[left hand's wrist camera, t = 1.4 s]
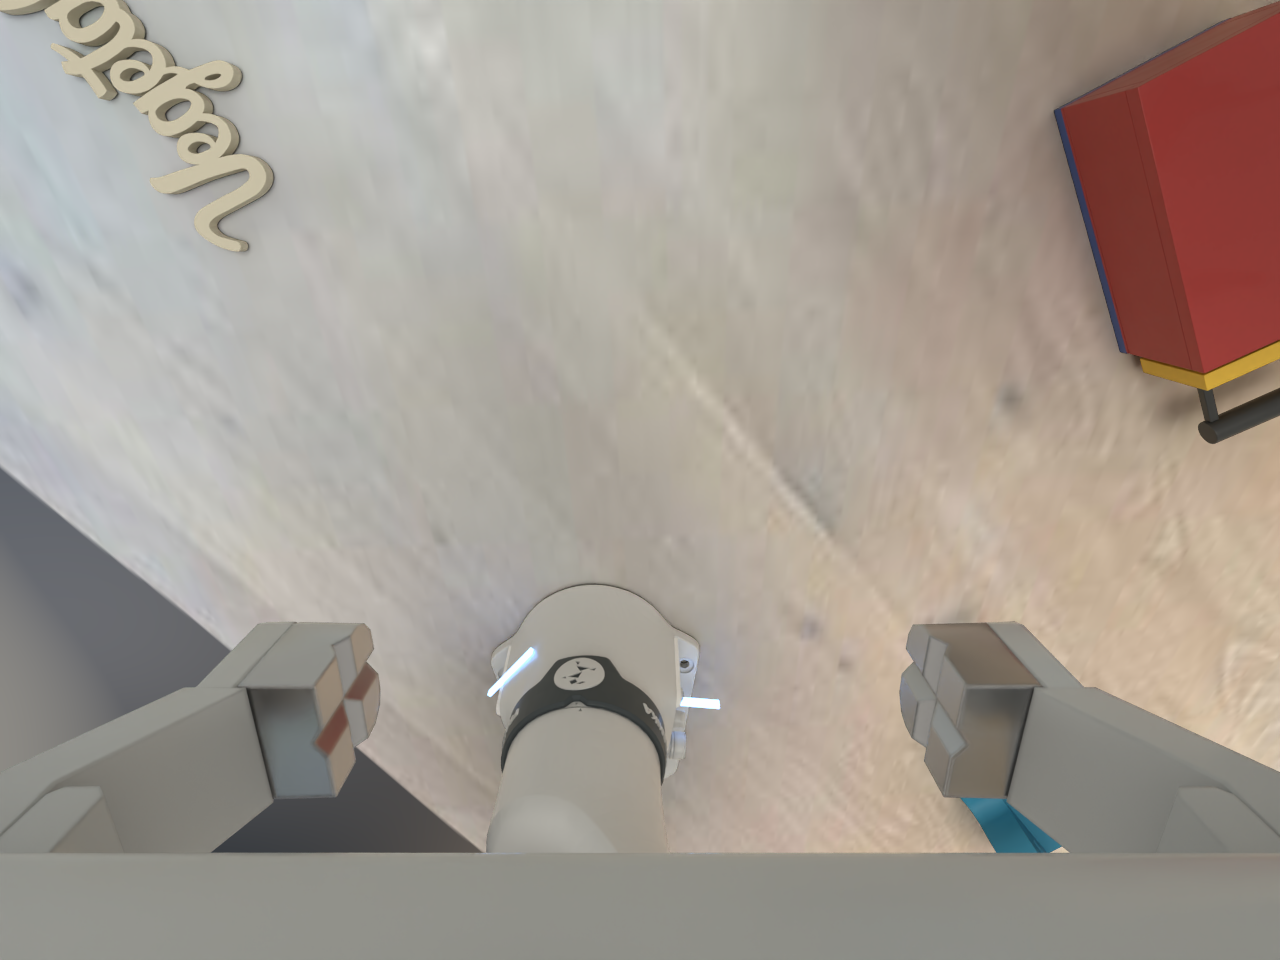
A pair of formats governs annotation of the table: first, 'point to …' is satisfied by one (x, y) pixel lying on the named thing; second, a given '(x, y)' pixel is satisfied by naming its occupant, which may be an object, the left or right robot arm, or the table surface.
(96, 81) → the decorative sign
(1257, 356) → the drawer
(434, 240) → the table surface
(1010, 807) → the camera mount
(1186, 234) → the red case
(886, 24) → the table surface
